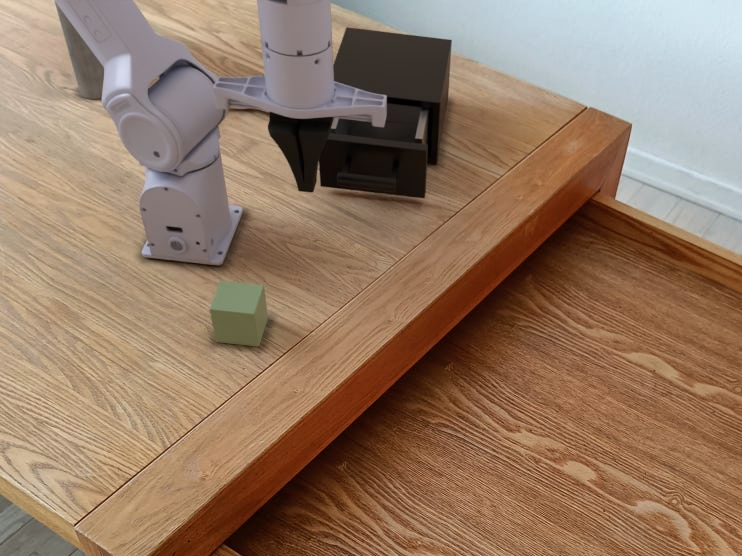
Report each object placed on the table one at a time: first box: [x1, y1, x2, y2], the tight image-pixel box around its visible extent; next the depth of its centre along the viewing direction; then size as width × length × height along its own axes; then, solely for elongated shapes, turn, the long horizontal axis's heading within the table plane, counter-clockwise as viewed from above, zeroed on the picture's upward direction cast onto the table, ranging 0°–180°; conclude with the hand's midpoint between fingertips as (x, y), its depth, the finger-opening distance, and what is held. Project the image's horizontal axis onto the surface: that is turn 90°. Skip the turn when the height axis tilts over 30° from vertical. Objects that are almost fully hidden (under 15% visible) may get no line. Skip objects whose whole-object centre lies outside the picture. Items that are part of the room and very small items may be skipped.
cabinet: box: [333, 26, 453, 166], centre depth 103 cm, size 15×13×8 cm
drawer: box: [318, 103, 432, 199], centre depth 97 cm, size 18×11×6 cm, turn 176°
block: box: [209, 280, 269, 348], centre depth 81 cm, size 4×4×4 cm
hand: (307, 185), depth 82 cm, fingers closed
